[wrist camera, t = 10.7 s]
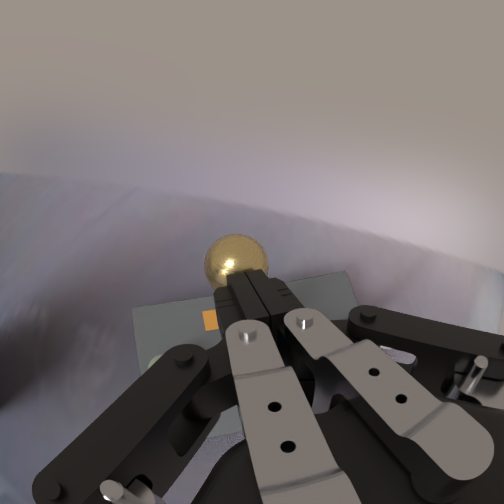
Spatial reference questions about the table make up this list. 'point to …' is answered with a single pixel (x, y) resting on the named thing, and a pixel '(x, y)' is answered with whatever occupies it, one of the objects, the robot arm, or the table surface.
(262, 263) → the brass lever
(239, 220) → the table surface
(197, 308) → the control panel
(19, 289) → the table surface
